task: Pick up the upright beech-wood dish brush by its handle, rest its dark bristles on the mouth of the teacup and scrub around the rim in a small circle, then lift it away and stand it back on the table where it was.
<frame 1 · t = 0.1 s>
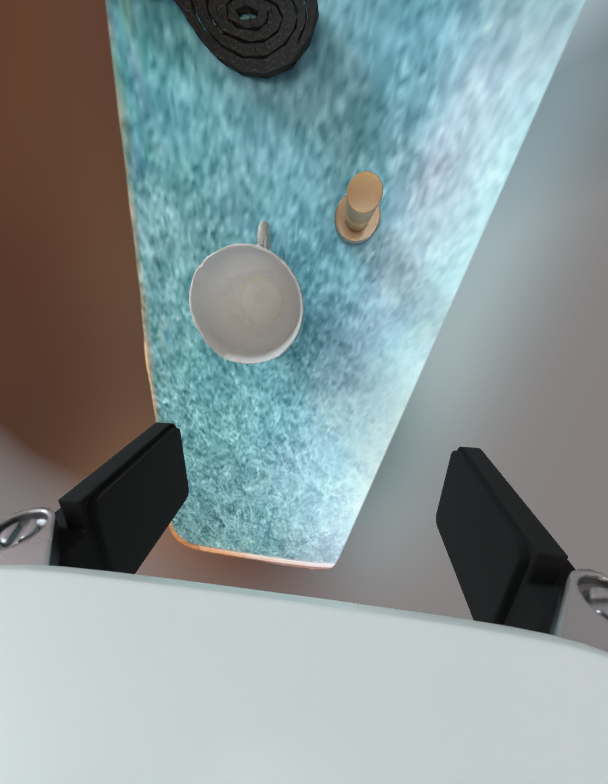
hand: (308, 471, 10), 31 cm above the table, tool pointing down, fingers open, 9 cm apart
hairbrush: (199, 3, 29), on the table
teacup: (264, 292, 39), on the table
dish brush: (355, 223, 34), on the table
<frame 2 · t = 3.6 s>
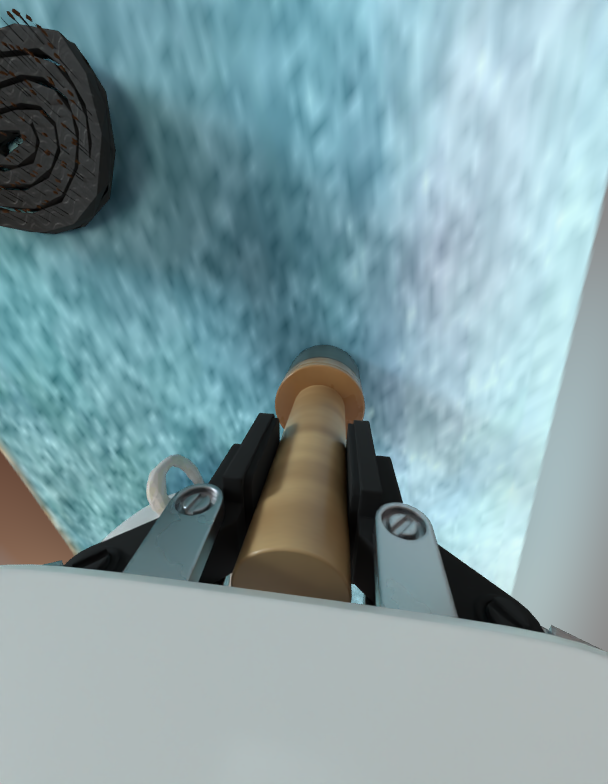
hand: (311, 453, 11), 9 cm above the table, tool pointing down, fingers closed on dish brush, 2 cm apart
teacup: (224, 502, 24), on the table
dish brush: (323, 379, 19), on the table, touching gripper
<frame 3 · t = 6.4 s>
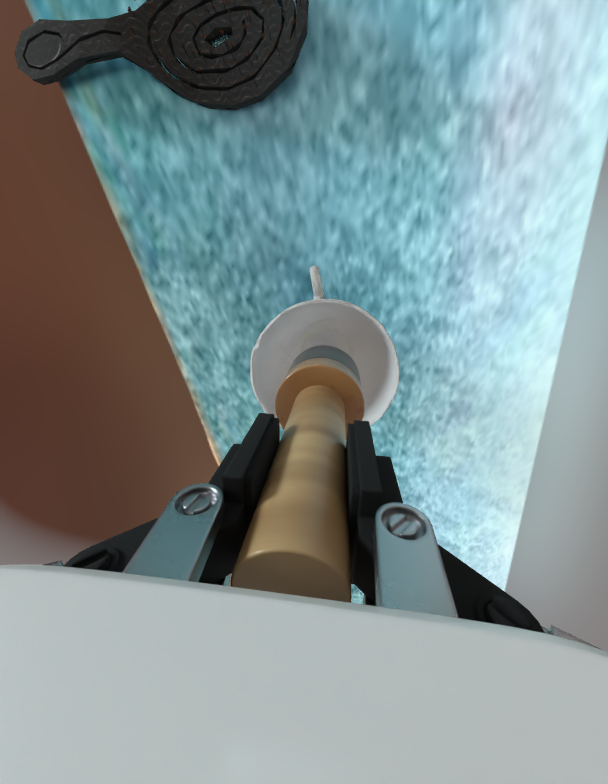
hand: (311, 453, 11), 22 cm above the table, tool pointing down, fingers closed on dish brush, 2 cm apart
hairbrush: (162, 54, 24), on the table
teacup: (326, 342, 32), on the table
dish brush: (323, 380, 19), point 13 cm above the table, touching gripper
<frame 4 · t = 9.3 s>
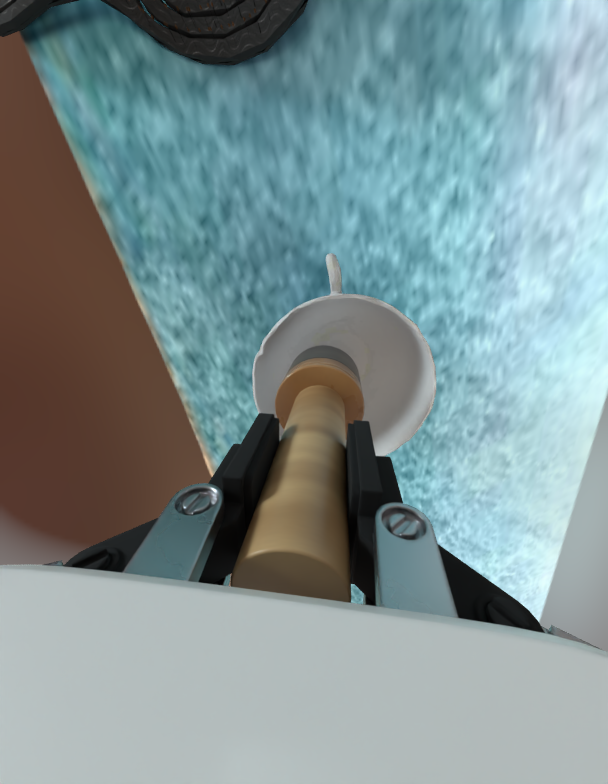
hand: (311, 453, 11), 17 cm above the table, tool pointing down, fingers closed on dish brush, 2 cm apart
teacup: (340, 346, 27), on the table
dish brush: (323, 380, 19), point 9 cm above the table, touching gripper
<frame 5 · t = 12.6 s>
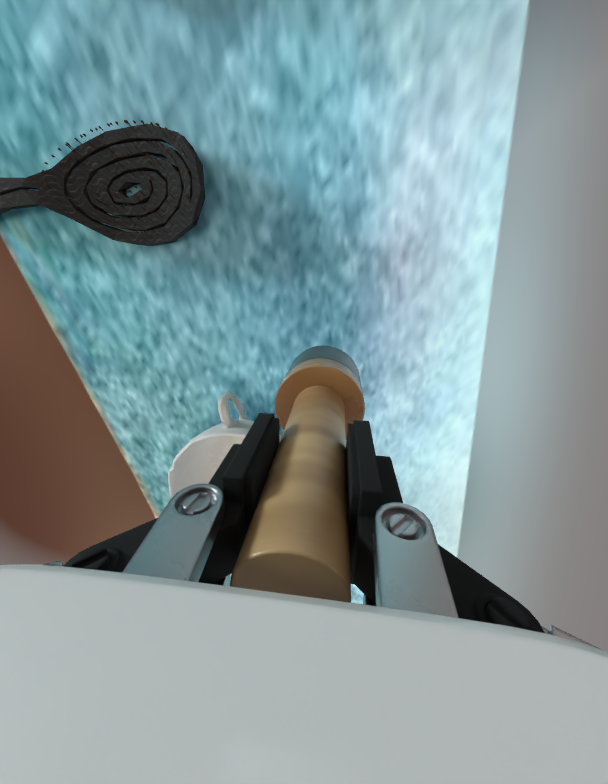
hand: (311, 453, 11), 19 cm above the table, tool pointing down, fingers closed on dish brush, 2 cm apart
hairbrush: (83, 196, 26), on the table
teacup: (256, 438, 33), on the table
dish brush: (323, 380, 19), point 10 cm above the table, touching gripper
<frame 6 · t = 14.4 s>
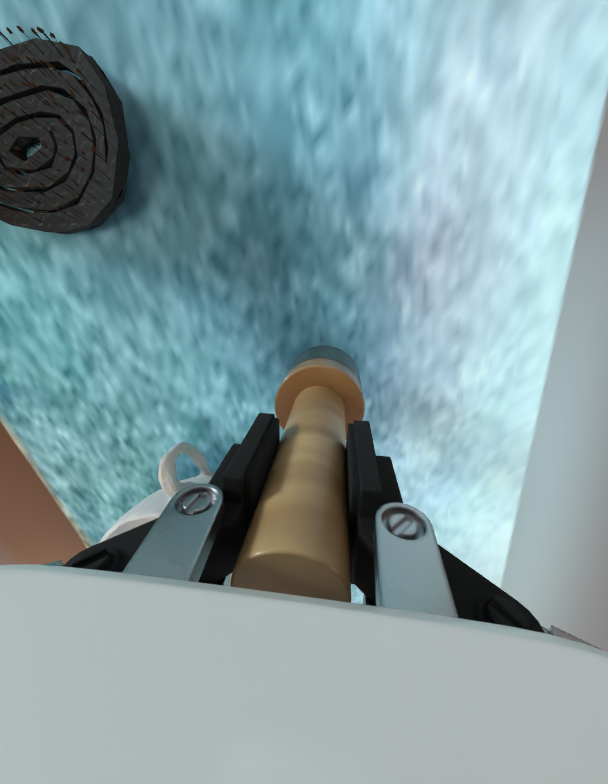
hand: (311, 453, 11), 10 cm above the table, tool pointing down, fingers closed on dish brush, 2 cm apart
teacup: (228, 490, 25), on the table
dish brush: (323, 380, 19), point 1 cm above the table, touching gripper
when the fingers open (9 cm above the table, at t = 15.0 s): dish brush stays where it is, on the table.
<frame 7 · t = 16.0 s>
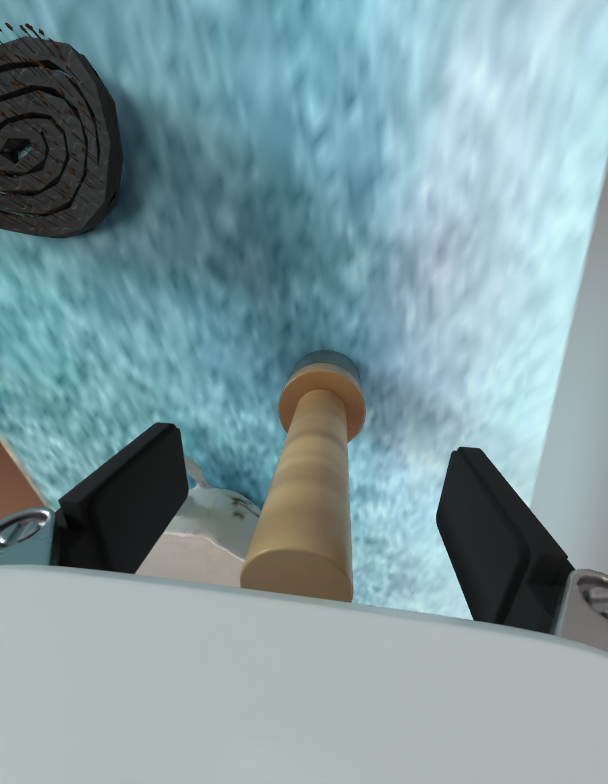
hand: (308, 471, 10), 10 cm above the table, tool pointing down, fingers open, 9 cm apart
teacup: (226, 502, 25), on the table
dish brush: (325, 383, 20), on the table
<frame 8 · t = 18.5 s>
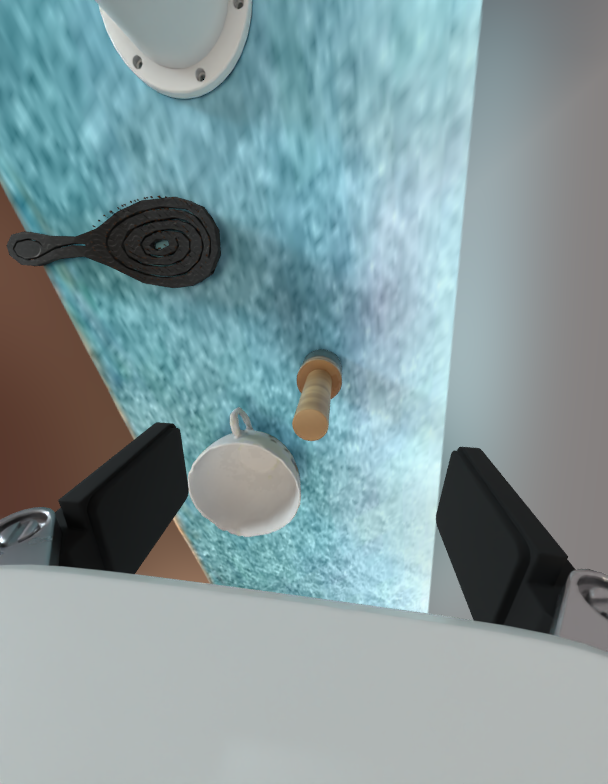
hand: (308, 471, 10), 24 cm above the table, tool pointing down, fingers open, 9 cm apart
hairbrush: (119, 247, 32), on the table
teacup: (259, 444, 39), on the table
dish brush: (321, 368, 34), on the table
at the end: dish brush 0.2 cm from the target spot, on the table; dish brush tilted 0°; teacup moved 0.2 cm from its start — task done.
